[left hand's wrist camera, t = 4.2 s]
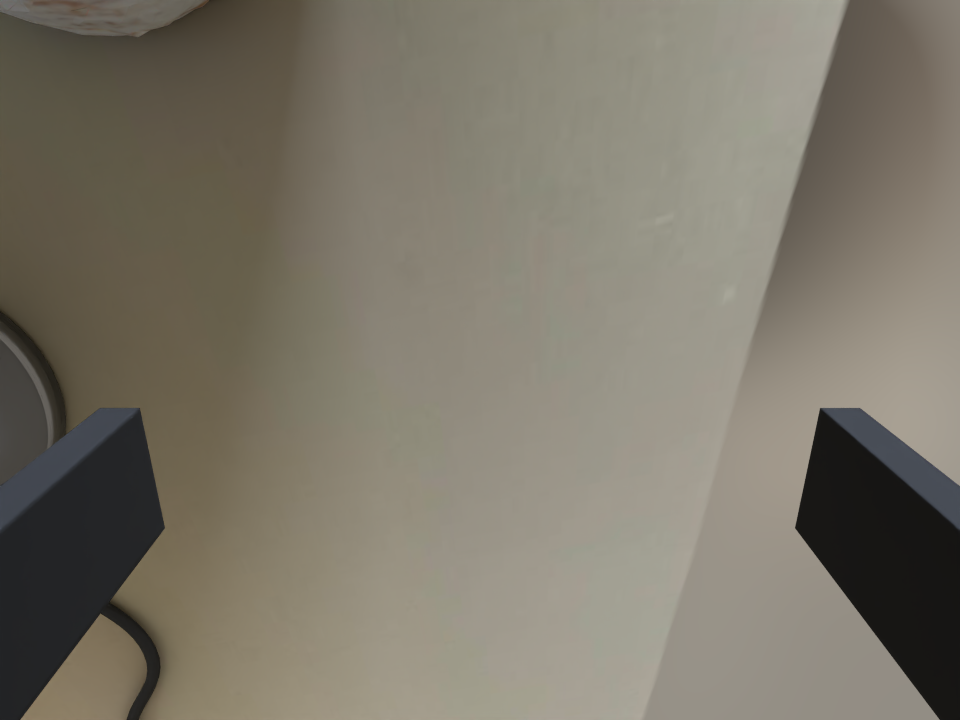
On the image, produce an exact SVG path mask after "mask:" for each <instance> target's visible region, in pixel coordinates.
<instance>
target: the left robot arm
mask: <svg viewBox="0 0 960 720" xmlns="http://www.w3.org/2000/svg"><path fill="white" fill-rule="evenodd" d="M65 430H66V415H65V407H64V402H63V398H62V394H61V391H60V388H59V385H58V382H57V380H56V378H55V376H54V374H53V372H52V370H51V368H50V366H49V364H48V363H47V361H46V359H45V358H44V356H43V355H42V354H41V352H40V351H39V349H38V348H37V347H36V346H35V344H34V343H33V342H32V341H31V339H30V338H29V337H28V336H27V335H26V334H25V333H24V332H23V331H22V330H21V329H20V328H19V327H18V326H17V325H16V324H15V323H13V322H12V321H11V320H10V319H9V318H7V317H6V316H5V315H4V314H2V313H1V312H0V720H20V719H21V718H22V717H23V715H24V714H25V713H26V711H27V710H28V709H29V707H30V706H31V705H32V703H33V702H34V701H35V699H36V698H37V697H38V695H39V694H40V693H41V691H42V690H43V689H44V687H45V686H46V685H47V683H48V682H49V681H50V680H51V678H52V677H53V676H54V674H55V673H56V672H57V670H58V669H59V668H60V666H61V665H62V664H63V662H64V661H65V660H66V658H67V657H68V656H69V654H70V653H71V652H72V650H73V649H74V648H75V646H76V645H77V644H78V642H79V641H80V640H81V638H82V637H83V636H84V635H85V633H86V632H87V631H88V629H89V628H90V627H91V625H92V624H93V623H94V621H95V620H96V619H97V617H98V616H99V615H100V613H101V614H102V615H104V616H106V617H107V618H109V619H110V620H112V621H113V622H115V623H116V624H117V625H119V626H120V627H121V628H123V629H124V630H125V631H126V632H127V633H128V634H129V635H130V636H131V637H132V638H133V639H134V640H135V641H136V643H137V644H138V645H139V647H140V648H141V650H142V652H143V654H144V657H145V659H146V662H147V677H146V681H145V683H144V685H143V687H142V689H141V691H140V693H139V695H138V696H137V698H136V700H135V702H134V703H133V705H132V707H131V709H130V711H129V714H128V717H127V720H139V717H140V715H141V713H142V711H143V709H144V707H145V705H146V704H147V702H148V700H149V698H150V697H151V695H152V693H153V691H154V689H155V687H156V684H157V681H158V678H159V674H160V658H159V655H158V652H157V649H156V647H155V645H154V644H153V642H152V640H151V638H150V637H149V636H148V634H147V633H146V632H145V630H144V629H143V628H142V627H141V626H140V625H139V624H138V623H137V622H136V621H134V620H133V619H132V618H131V617H130V616H128V615H127V614H126V613H124V612H123V611H121V610H120V609H118V608H117V607H115V606H114V605H112V604H111V603H109V601H110V600H111V599H112V597H113V596H114V595H115V593H116V592H117V591H118V589H119V588H120V587H121V586H122V584H123V583H124V582H125V580H126V579H127V578H128V576H129V575H130V574H131V572H132V571H133V570H134V568H135V567H136V566H137V564H138V563H139V562H140V560H141V559H142V558H143V556H144V555H145V554H146V552H147V551H148V550H149V548H150V547H151V546H152V544H153V543H154V542H155V540H156V539H157V538H158V537H159V535H160V534H161V533H162V531H163V530H164V529H165V526H164V522H163V517H162V512H161V507H160V502H159V498H158V493H157V488H156V483H155V479H154V474H153V469H152V464H151V459H150V455H149V450H148V445H147V440H146V436H145V431H144V426H143V421H142V416H141V412H140V408H100V409H98V410H97V411H96V412H94V413H93V414H92V415H91V416H89V417H88V418H87V419H86V420H84V421H83V422H82V423H80V424H79V425H78V426H77V427H75V428H74V429H73V430H71V431H70V432H69V433H68V434H66V435H65ZM795 529H796V530H797V531H798V533H799V534H800V535H801V536H802V538H803V539H804V540H805V542H806V543H807V544H808V546H809V547H810V548H811V550H812V551H813V552H814V554H815V555H816V556H817V558H818V559H819V560H820V562H821V563H822V564H823V566H824V567H825V568H826V570H827V571H828V572H829V574H830V575H831V576H832V578H833V579H834V580H835V582H836V583H837V584H838V585H839V587H840V588H841V589H842V591H843V592H844V593H845V595H846V596H847V597H848V599H849V600H850V601H851V603H852V604H853V605H854V607H855V608H856V609H857V611H858V612H859V613H860V615H861V616H862V617H863V619H864V620H865V621H866V623H867V624H868V625H869V627H870V628H871V629H872V631H873V632H874V633H875V635H876V636H877V637H878V638H879V640H880V641H881V642H882V644H883V645H884V646H885V648H886V649H887V650H888V652H889V653H890V654H891V656H892V657H893V658H894V660H895V661H896V662H897V664H898V665H899V666H900V668H901V669H902V670H903V672H904V673H905V674H906V676H907V677H908V678H909V680H910V681H911V682H912V683H913V685H914V686H915V687H916V689H917V690H918V691H919V693H920V694H921V695H922V697H923V698H924V699H925V701H926V702H927V703H928V705H929V706H930V707H931V709H932V710H933V711H934V713H935V714H936V715H937V717H938V718H939V719H940V720H960V486H959V485H957V484H956V483H955V482H954V481H952V480H951V479H950V478H949V477H947V476H946V475H945V474H943V473H942V472H941V471H940V470H938V469H937V468H936V467H935V466H933V465H932V464H931V463H929V462H928V461H927V460H926V459H924V458H923V457H922V456H920V455H919V454H918V453H917V452H915V451H914V450H913V449H912V448H910V447H909V446H908V445H906V444H905V443H904V442H903V441H901V440H900V439H899V438H897V437H896V436H895V435H894V434H892V433H891V432H890V431H888V430H887V429H886V428H885V427H883V426H882V425H881V424H880V423H878V422H877V421H876V420H874V419H873V418H872V417H871V416H869V415H868V414H867V413H866V412H864V411H863V410H862V409H860V408H820V412H819V416H818V421H817V426H816V431H815V436H814V441H813V445H812V450H811V455H810V460H809V464H808V469H807V474H806V479H805V484H804V488H803V493H802V498H801V502H800V507H799V512H798V517H797V522H796V526H795Z"/></svg>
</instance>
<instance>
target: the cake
mask: <svg viewBox="0 0 960 720" xmlns="http://www.w3.org/2000/svg"><path fill="white" fill-rule="evenodd" d="M208 1H209V0H0V12H3V13H5V14H8V15H11V16H14V17H17V18H20V19H23V20H25V21H28V22H31V23H35V24H39V25H44V26H48V27H53V28H57V29H61V30H65V31H69V32H73V33H77V34H80V35H98V36H124V35H129V36H135V37H140V36H142V35H143V34H145V33H147V32H148V31H150V30H153V29H157V28H160V27H164V26H168V25H170V24H171V23H172V22H173V21H174V20H178V19H180V18H181V17H183V16H185V15H186V14H188V13H190V12H191V11H193V10H195V9H198V8H201V7H203V6H204V5H205V4H206V3H207V2H208Z"/></svg>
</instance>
